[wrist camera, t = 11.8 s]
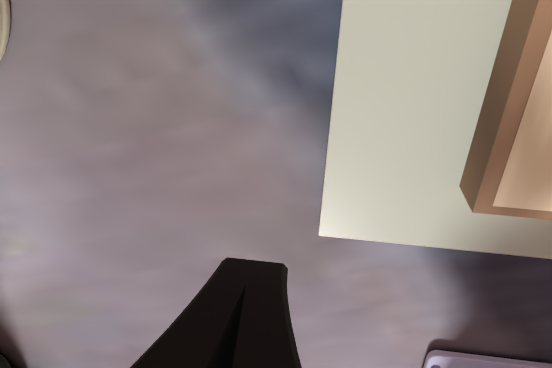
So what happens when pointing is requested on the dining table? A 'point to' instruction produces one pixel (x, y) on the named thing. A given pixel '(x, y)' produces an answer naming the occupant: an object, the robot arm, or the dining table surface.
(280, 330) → the robot arm
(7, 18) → the can
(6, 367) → the coffee jar
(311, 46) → the dining table surface
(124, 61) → the dining table surface
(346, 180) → the mat
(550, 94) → the walnut slab
